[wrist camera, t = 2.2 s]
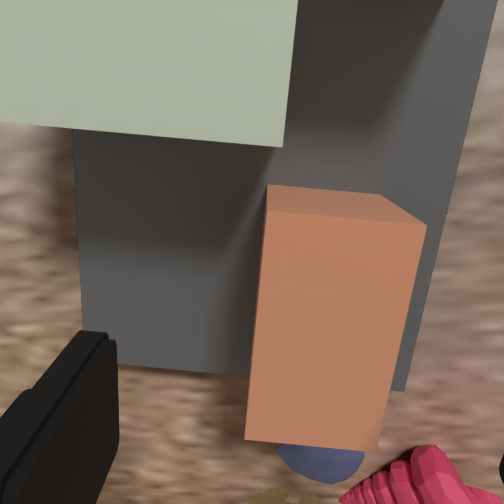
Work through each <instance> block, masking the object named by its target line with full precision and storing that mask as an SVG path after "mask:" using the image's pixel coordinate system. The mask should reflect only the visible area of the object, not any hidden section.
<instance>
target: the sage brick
mask: <svg viewBox="0 0 504 504" xmlns="http://www.w3.org/2000/svg"><path fill="white" fill-rule="evenodd" d="M297 5H298V0H0V122H6V123H18V124H29V125H40V126H51V127H62V128H73V129H84V130H95V131H106V132H117V133H128V134H139V135H151V136H162V137H173V138H184V139H195V140H206V141H217V142H228V143H239V144H250V145H261V146H272V147H283V138H284V128H285V119H286V109H287V100H288V90H289V81H290V71H291V62H292V52H293V43H294V33H295V24H296V14H297Z"/></svg>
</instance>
